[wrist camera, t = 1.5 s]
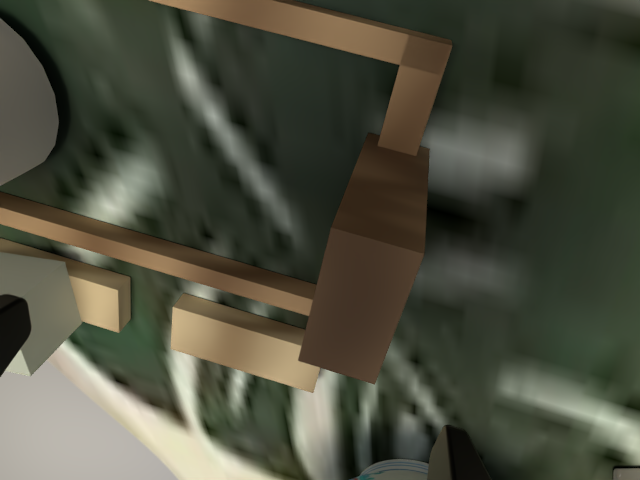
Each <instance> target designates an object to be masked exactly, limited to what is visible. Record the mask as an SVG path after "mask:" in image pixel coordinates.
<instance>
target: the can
mask: <svg viewBox="0 0 640 480" xmlns="http://www.w3.org/2000/svg"><path fill="white" fill-rule="evenodd" d="M58 125H59V119H58V112H57V106H56V99H55V94H54V92H53V89H52V87H51V85H50V82H49V80H48V78H47V75H46V73H45V71H44V68H43V66H42V65H41V63H40V62H39V60H38V59H37V58H36V56H35V55H34V53H33V52H32V51H31V49H30V48H29V46H28V45H27V44H26V42H25V41H24V39H23V38H22V37H21V36H19V35H18V34H17V33H16V32H15V31H14V30H13V29H12V28H11V27H10V26H8V25H7V24H6V23H5V22H4V21H3V20H2V19H1V18H0V186H1V185H3V184H5V183H7V182H8V181H10V180H12V179H14V178H16V177H18V176H20V175H22V174H24V173H25V172H27V171H29V170H31V169H32V168H34V167H36V166H38V165H39V164H41V163H43V162H44V161H45V160H46V158H47V157H48V155H49V154H50V152H51V150H52V149H53V147H54V146H55V143H56V137H57V131H58Z"/></svg>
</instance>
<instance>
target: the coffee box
mask: <svg viewBox="0 0 640 480" xmlns="http://www.w3.org/2000/svg"><path fill="white" fill-rule="evenodd" d="M613 480H640V468H616V469H614V471H613Z"/></svg>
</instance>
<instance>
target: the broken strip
mask: <svg viewBox="0 0 640 480" xmlns="http://www.w3.org/2000/svg"><path fill="white" fill-rule="evenodd" d="M0 252H4V253H10V254H17V255H23V256H30V257H37V258H43V259H50V260H57V261H63V262H65V264H66V268H67V272H68V275H69V279H70V282H71V286H72V289H73V293H74V296H75V300H76V303H77V307H78V310H79V314H80V318H81V321H83V322H86V323H89V324H92V325H95V326H99V327H102V328H105V329H108V330H112V331H115V332H118V333H119V332H120V331H121V330H122V329H123V328H124V326H125V325H126V324H127V323H128V322H129V320H130V319H131V289H130V277H128V276H125V275H122V274H118V273H115V272H112V271H108V270H105V269H102V268H98V267H95V266H92V265H88V264H85V263H82V262H78V261H75V260H72V259H69V258H65V257H62V256H59V255H55V254H52V253H49V252H45V251H42V250H39V249H35V248H32V247H29V246H25V245H22V244H19V243H15V242H12V241H9V240H5V239H2V238H0ZM304 334H305V330H304V329H301V328H298V327H294V326H291V325H288V324H284V323H281V322H278V321H274V320H271V319H268V318H264V317H261V316H258V315H254V314H251V313H248V312H244V311H241V310H238V309H235V308H231V307H228V306H225V305H221V304H218V303H215V302H211V301H208V300H205V299H201V298H198V297H195V296H191V295H188V294H185V293H183V294H182V296H181V297H180V298H179V300H178V301H177V302H176V304H175V305H174V306H173V317H172V336H171V349H173V350H176V351H179V352H182V353H186V354H189V355H192V356H195V357H199V358H202V359H205V360H208V361H211V362H215V363H218V364H221V365H224V366H228V367H231V368H234V369H237V370H240V371H244V372H247V373H250V374H253V375H257V376H260V377H263V378H266V379H269V380H273V381H276V382H279V383H282V384H286V385H289V386H292V387H295V388H298V389H302V390H305V391H308V392H311V393H313V392H314V388H315V385H316V381H317V378H318V374H319V371H320V367H316V366H313V365H310V364H306V363H303V362H300V361H298V358H299V354H300V350H301V346H302V342H303V338H304Z"/></svg>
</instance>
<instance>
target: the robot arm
mask: <svg viewBox="0 0 640 480" xmlns="http://www.w3.org/2000/svg"><path fill="white" fill-rule="evenodd" d="M31 328H32V325H31V319H30V313H29V307H28V303H27V301H26V300H25V299H24V298H21V297H18V296H15V295H11V294H3V295H0V377H1V375H2V374H3V373H4V371H5V370H6V369H7V367H8V366H9V364H10V363H11V362H12V360H13V359H14V357H15V356H16V355H17V353H18V352H19V350H20V349H21V348H22V346H23V345H24V343H25V342H26V341H27V339H28V337H29V335H30V333H31ZM427 480H491V478H490V476H489V474H488V472H487V470H486V468H485V466H484V464H483V462H482V460H481V458H480V456H479V454H478V452H477V451H476V449H475V447H474V445H473V443H472V441H471V439H470V437H469V435H468V433H467V432H466V431H465V430H464V429H461V428H457V427H454V426H451V425H445V426H444V427H443V428H442V430H441V432H440V434H439V436H438V438H437V440H436V442H435V444H434V446H433V448H432V451H431V454H430V459H429V467H428V476H427Z"/></svg>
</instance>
